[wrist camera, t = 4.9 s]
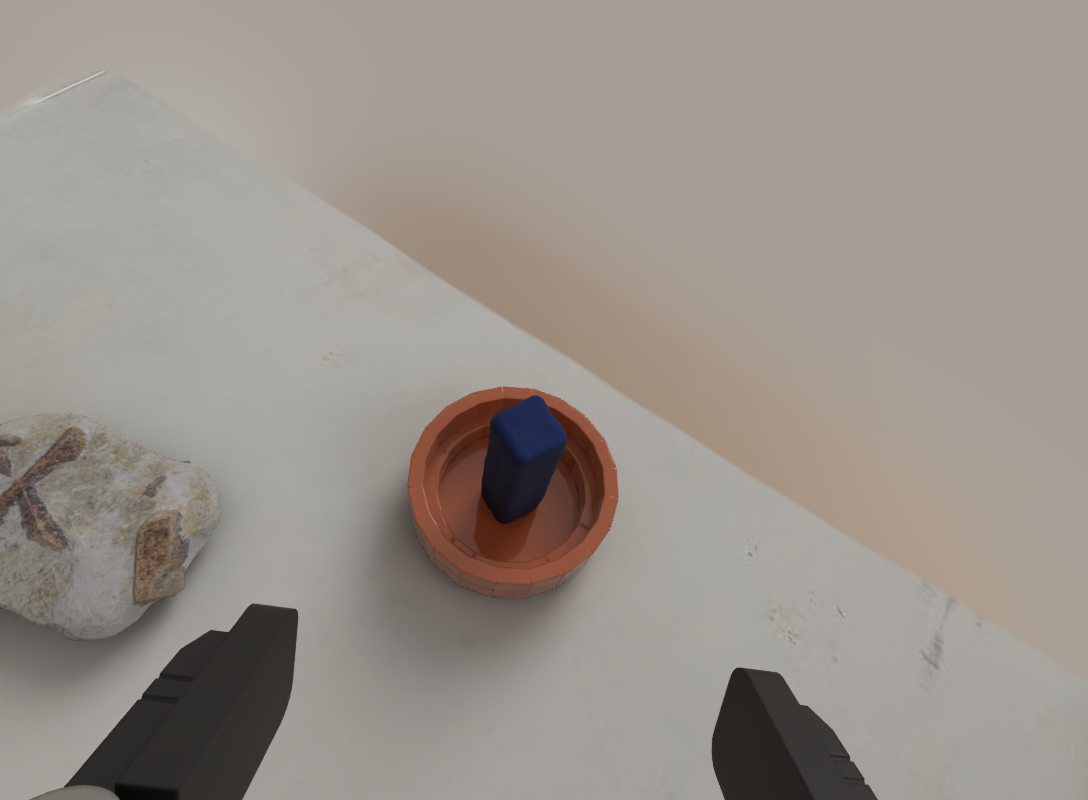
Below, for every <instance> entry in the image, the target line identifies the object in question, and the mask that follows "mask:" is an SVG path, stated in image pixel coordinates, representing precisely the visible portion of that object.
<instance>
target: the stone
mask: <svg viewBox="0 0 1088 800" xmlns="http://www.w3.org/2000/svg"><path fill="white" fill-rule="evenodd" d="M219 518H220V503H219V493H218V491H217V488H216V486H215V484H214V482H213V481H212V478H211V476H210V475H209V474H208V473H207V472H206V471H205V470H203V469H201V468H200V467H198V466H196V465H194V464H192V463H191V462H189V461H183V462H178V461H173V460H170V459H167V458H165V457H163V456H160V455H159V454H157V453H156V452H154V451H152V450H150V449H148V448H146V447H143V446H140V445H137V444H135V443H134V442H132V441H130V440H129V439H127V438H125V437H123V436H122V435H120V434H118V433H117V432H115V431H114V430H112V429H110V428H109V427H107V426H105V425H102V424H100V423H98V422H96V421H94V420H92V419H90V418H88V417H85V416H81V415H74V414H46V415H39V416H33V417H28V418H23V419H19V420H13V421H9V422H6V423H4V424H1V425H0V608H2V609H5V610H9V611H11V612H13V613H15V614H16V615H18V616H20V617H22V618H23V619H25V620H27V621H29V622H30V623H32V624H36V625H40V626H43V627H46V628H49V629H52V630H55V631H57V632H58V633H59V634H61V635H62V636H64V637H65V638H67V639H69V640H75V641H82V640H90V639H103V638H108V637H111V636H114V635H115V634H117V633H119V632H121V631H123V630H124V629H125V628H127V627H128V626H130V625H131V624H133V623H134V622H135V621H137V620H138V619H139V618H140V617H141V616H142V615H143V613H144V612H145V611H146V610H147V608H148V607H149V606H150V605H151V604H152V603H154V602H156V601H157V600H160V599H163V598H167V597H170V596H173V595H175V594H177V593H178V592H180V591H181V590H182V589H184V574H185V571H186V569H187V568H188V566H189V564H190V563H191V562H192V560H193V559H194V557H195V556H196V555H197V553H198V552H199V551H200V550H201V549H202V548H203V546H204V545H205V544H206V543H207V542H208V540H209V538H210V537H211V535H212V533H213V531H214V529H215V527H216V525H217V523H218V521H219Z"/></svg>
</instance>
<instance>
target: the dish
mask: <svg viewBox="0 0 1088 800" xmlns="http://www.w3.org/2000/svg"><path fill="white" fill-rule="evenodd" d="M534 395H538V396H540V397H541V398H543V400H544V401H545V403H546V405H547V407H548V408H549V410H550V412H551V413H552V415H553V416H554V417H555V419H556V420H557V421H558V423H559V424H560V425H561V426H562V427H563V428H564V430H565V431H566V434H567V443H566V446H565V451H564V453H563V456H562V458H561V459H560V461H559V462H558V464H557V467H556V470H555V472H554V474H553V476H552V477H551V481H550V483H549V486H548V488H547V490H546V493H545V496H544V498H543V500H542V501H541V502H540V503H539V505H538V506H537V507H536V508H535V509H534V510H532V511H531V512H529V513H528V514H526V515H524V516H523V517H521V518H518V519H516V520H514V521H512V522H510V523H507V524H503V523H500V522H498V521H497V520H496V518H495V517H494V515H493V513H492V511H491V510H490V509H489V508H488V507H487V505H486V503H485V501H484V500H483V498H482V494H481V489H482V476H483V469H484V460H485V458H486V455H487V449H488V442H489V432H490V421H491V419H492V417H493V416H494V415H495V414H497V413H499V412H501V411H503V410H506V409H509V408H511V407H513V406H515V405H516V404H518V403H520V402H521V401H523V400H525V399H527V398H528V397H531V396H534ZM408 495H409V503H410V510H411V514H412V518H413V523H414V527H415V532H416V536H417V538H418V540H419V542H420V544H421V545H422V547H423V548H424V550H425V551H426V553H427V555H428V556H429V558H430V559H431V561H432V563H433V564H435V566H436V567H437V568H438V569H440V570H441V571H442V572H443V573H444V574H446V575H447V576H448V577H449V578H451V579H452V580H453V581H454V582H456V583H457V584H458V585H461V586H462V587H465V588H468V589H470V590H473V591H476V592H479V593H481V594H484V595H487V596H491V597H504V598H524V597H529V596H532V595H535V594H538V593H541V592H545V591H548V590H551V589H553V588H554V587H555V588H556V587H558V586H559V585H560V584H562V583H563V582H564V581H566V580H567V579H569V578H570V577H571V576H573V575H574V574H575V573H577V572H578V571H579V570H580V569H581V568H582V567H583V566H584V564H585V563H586V562H587V561H588V560H589V558H590V557H591V556H592V555H593V553H594V552H595V550H596V549H597V548H598V546H599V545H600V543H601V542H602V540H603V539H604V537H605V536H606V534H607V533H608V531H609V530H610V527H611V525H612V521H613V518H614V514H615V510H616V506H617V502H618V483H617V469H616V466H615V463H614V461H613V458H612V456H611V453H610V451H609V448H608V446H607V443H606V441H605V440H604V438H603V437H602V435H601V434H600V433H599V432H598V430H597V429H596V428H595V427H594V425H593V424H592V423H591V422H590V421H589V419H588V418H587V417H586V416H585V415H584V414H582V413H581V412H579V411H578V410H577V409H575V408H574V407H572V406H571V405H569V404H568V403H566V402H565V401H564V400H561V399H560V398H558V397H555V396H552V395H549V394H547V393H544V392H541V391H538V390H535V389H533V390H532V389H528V388H514V387H498V388H493V389H488V390H483V391H478V392H474V393H471V394H469V395H467V396H465V397H463V398H462V399H460V400H458V401H456V402H454V403H452V404H450V405H448V406H447V407H445V408H444V409H443V410H442V411H441V412H440V413H439V414H438V415H437V416H436V417H435V418H434V419H433V420H432V421H431V422H430V423H429V425H428V426H427V427H426V428H425V430H424V431H423V433H422V435H421V437H420V439H419V441H418V443H417V445H416V447H415V449H414V451H413V453H412V457H411V461H410V469H409V478H408Z"/></svg>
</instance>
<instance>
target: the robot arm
mask: <svg viewBox="0 0 1088 800" xmlns="http://www.w3.org/2000/svg"><path fill="white" fill-rule="evenodd" d="M297 626H298V612H297V610H296V609H292V608H284V607H276V606H268V605H261V604H251V605H250V606H249V607H248V608H247V609H246V610H245V612H244V613H243V614H242V616H241V617H240V618H239V620H238V621H237V622H236V624H235V625H234V626H233V628H232V629H231V630H230V631H229V632H222V631H214V630H210V631H209V632H207V633H205V634H204V635H202V636H201V637H199V638H197V639H196V640H194V641H193V642H191V643H190V644H188V645H186V646H185V647H183V648H182V649H180V651H179V652H178V653H177V654H176V655H175V656H174V658H173V659H172V660H171V661H170V662H169V664H168V665H167V666H166V667H165V668H164V669H163V671H162V672H161V673H160V676H159V678H158V679H157V678H156V679H155V680H154V681H153V683H152V684H151V685H150V686H149V687H148V688H147V690H146V691H145V692H144V693H143V695H142V698H141V700H137V701H136V703H135V704H134V705H133V706H132V707H131V709H130V710H129V711H128V712H127V713H126V715H125V716H124V717H123V718H122V719H121V720H120V722H119V723H118V724H117V725H116V726H115V728H114V729H113V730H112V731H111V732H110V733H109V735H108V736H107V737H106V738H105V739H104V741H103V742H102V743H101V744H100V745H99V747H98V748H97V749H96V750H95V751H94V752H93V754H92V755H91V756H90V757H89V758H88V760H87V761H86V762H85V763H84V764H83V765H82V767H81V768H80V769H79V770H78V771H77V773H76V774H75V775H74V776H73V777H72V779H71V780H70V781H69V782H68V783H67V784H66V785H65V786H64V787H63V788H60V789H56V790H53V791H50V792H47V793H44V794H42V795H39V796H37V797H34V798H32V799H30V800H242V799H243V797H244V795H245V793H246V791H247V789H248V787H249V785H250V783H251V781H252V779H253V777H254V775H255V773H256V771H257V769H258V767H259V765H260V763H261V761H262V759H263V757H264V755H265V753H266V751H267V749H268V747H269V745H270V743H271V741H272V739H273V738H274V736H275V734H276V732H277V730H278V728H279V726H280V724H281V721H282V719H283V717H284V714H285V711H286V708H287V705H288V702H289V698H290V694H291V690H292V684H293V674H294V662H295V650H296V638H297ZM712 761H713V767H714V771H715V774H716V777H717V780H718V782H719V785H720V788H721V790H722V793H723V796H724V799H725V800H878V799H877V798H876V796H875V795H874V793H873V791H872V790H871V788H870V787H869V785H865V782H864V778H863V776H862V774H861V773H860V771H859V770H858V768H857V767H856V765H855V764H854V762H851V761H850V756H849V754H848V753H847V751H846V750H845V748H844V746H843V745H842V743H841V742H840V740H839V739H838V737H837V736H836V734H835V733H834V731H833V730H832V729H831V728H830V727H829V726H828V725H827V724H826V723H825V722H824V721H823V720H822V719H821V718H820V717H819V716H818V715H816V714H815V713H814V712H813V711H812V710H811V709H810V708H809V707H808V706H804V705H800V704H799V703H798V701H797V700H796V698H795V696H794V695H793V693H792V691H791V690H790V688H789V686H788V685H787V683H786V681H785V680H784V678H783V677H782V676H781V675H780V674H779V673H777V672H770V671H762V670H755V669H747V668H736V669H735V670H734V671H733V672H732V674H731V677H730V680H729V683H728V686H727V690H726V693H725V696H724V700H723V703H722V706H721V710H720V713H719V716H718V720H717V723H716V726H715V729H714V733H713V738H712Z"/></svg>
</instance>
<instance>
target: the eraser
mask: <svg viewBox="0 0 1088 800" xmlns="http://www.w3.org/2000/svg"><path fill="white" fill-rule="evenodd" d="M566 443H567V434H566V431H565V430H564V428H563V427H562V426H561V425H560V424H559V423H558V421H557V420H556V419H555V417H554V416H553V415H552V413H551V412H550V410H549V408H548V407H547V405H546V403H545V401H544V400H543V398H541V397H540V396H538V395H534V396H531V397H528V398H527V399H525V400H523V401H521V402H520V403H518V404H516V405H515V406H513V407H511V408H509V409H506V410H503V411H501V412H499V413H497V414H495V415H494V416H493V417H492V419H491V421H490V432H489V442H488V449H487V455H486V458H485V460H484V469H483V476H482V489H481V494H482V498H483V500H484V501H485V503H486V505H487V507H488V508H489V509H490V510H491V511H492V513H493V515H494V517H495V518H496V520H497V521H498V522H500V523H503V524H507V523H510V522H512V521H514V520H516V519H518V518H521V517H523V516H524V515H526V514H528V513H529V512H531V511H532V510H534V509H535V508H536V507H537V506H538V505H539V503H540V502H541V501H542V500H543V498H544V496H545V493H546V490H547V488H548V486H549V483H550V481H551V477H552V476H553V474H554V472H555V470H556V467H557V464H558V462H559V461H560V459H561V458H562V456H563V453H564V451H565V446H566Z"/></svg>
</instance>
